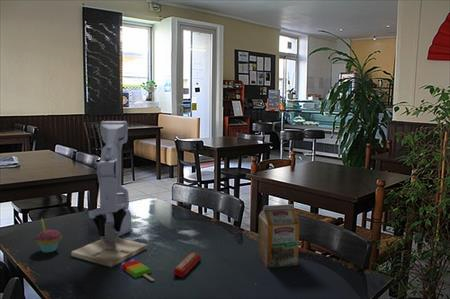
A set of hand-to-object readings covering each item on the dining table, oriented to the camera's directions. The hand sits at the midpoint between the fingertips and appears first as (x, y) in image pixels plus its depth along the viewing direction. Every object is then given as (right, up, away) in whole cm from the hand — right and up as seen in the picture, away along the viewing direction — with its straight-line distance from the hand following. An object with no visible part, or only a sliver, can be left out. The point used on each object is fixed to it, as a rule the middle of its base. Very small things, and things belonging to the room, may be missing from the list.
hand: (109, 233), depth 144 cm
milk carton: (+58, -8, -4) cm, 58 cm away
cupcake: (-22, -7, +3) cm, 23 cm away
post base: (0, -7, +1) cm, 7 cm away
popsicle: (+14, -10, -15) cm, 23 cm away
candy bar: (+28, -9, -11) cm, 31 cm away
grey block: (0, -2, 0) cm, 2 cm away
